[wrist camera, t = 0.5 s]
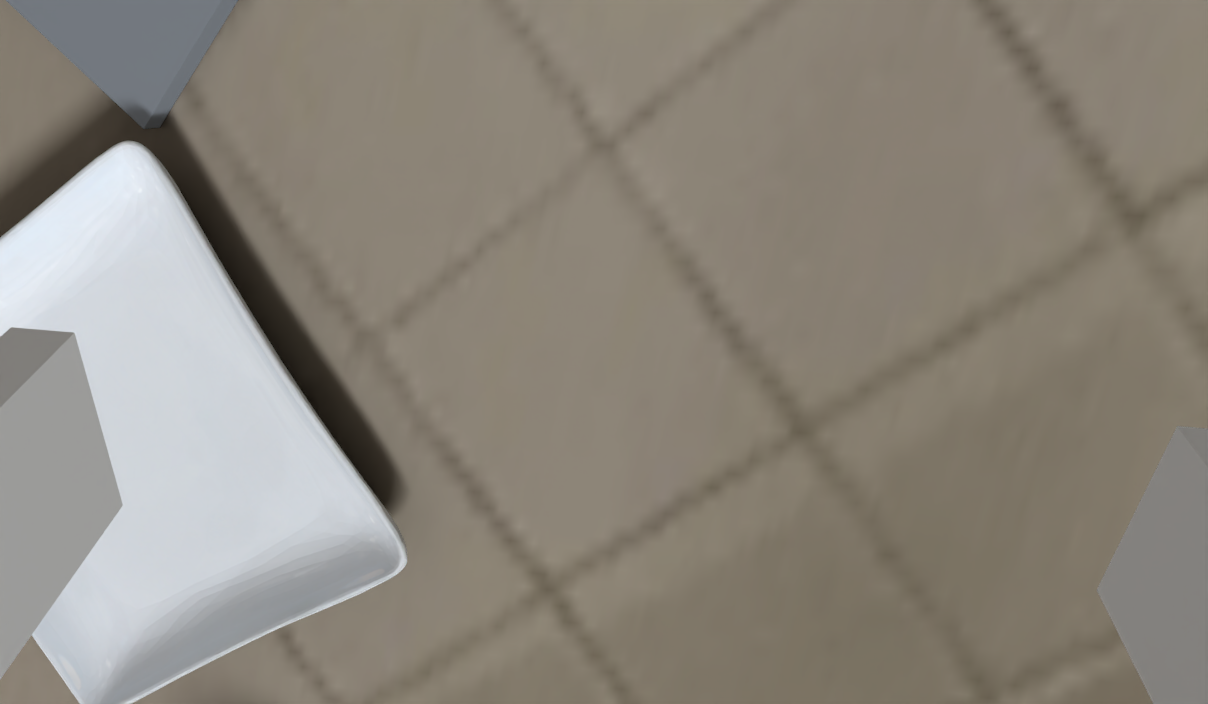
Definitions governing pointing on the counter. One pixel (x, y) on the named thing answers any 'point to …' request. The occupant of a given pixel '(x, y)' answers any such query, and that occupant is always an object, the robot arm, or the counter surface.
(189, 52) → the rubber mat
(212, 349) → the salad plate
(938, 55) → the counter surface
